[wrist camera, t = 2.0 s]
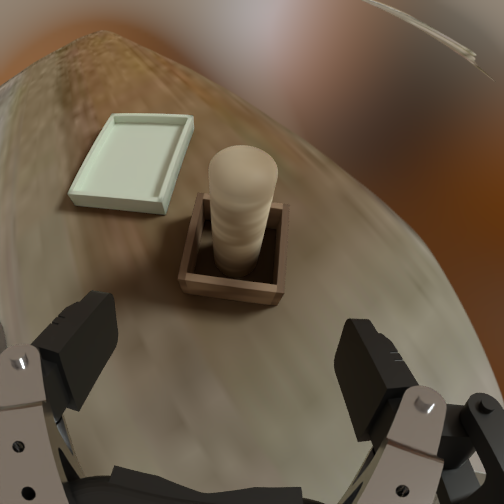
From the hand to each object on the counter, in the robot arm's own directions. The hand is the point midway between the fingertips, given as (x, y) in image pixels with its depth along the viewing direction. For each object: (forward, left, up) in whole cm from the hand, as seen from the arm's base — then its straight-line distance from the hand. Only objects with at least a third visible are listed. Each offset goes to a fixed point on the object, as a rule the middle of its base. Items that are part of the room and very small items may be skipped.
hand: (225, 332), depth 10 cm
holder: (0, +10, -15) cm, 18 cm away
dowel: (0, +10, -15) cm, 18 cm away
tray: (-13, +20, -15) cm, 28 cm away
